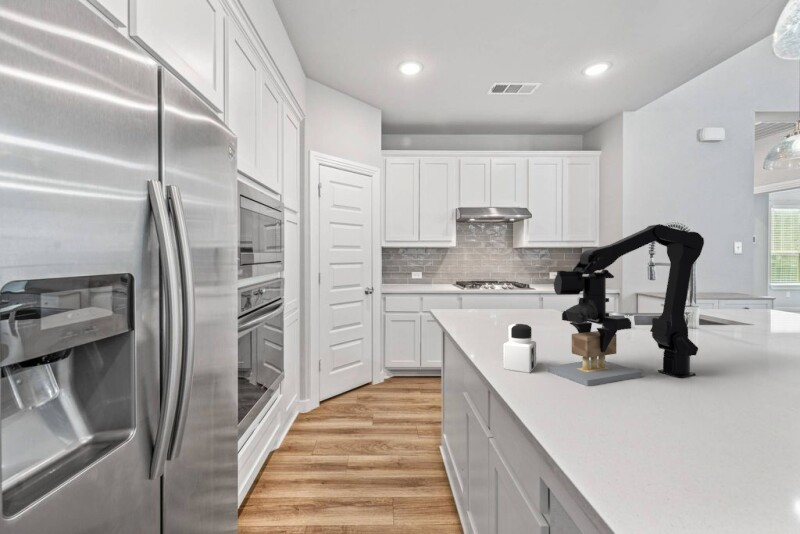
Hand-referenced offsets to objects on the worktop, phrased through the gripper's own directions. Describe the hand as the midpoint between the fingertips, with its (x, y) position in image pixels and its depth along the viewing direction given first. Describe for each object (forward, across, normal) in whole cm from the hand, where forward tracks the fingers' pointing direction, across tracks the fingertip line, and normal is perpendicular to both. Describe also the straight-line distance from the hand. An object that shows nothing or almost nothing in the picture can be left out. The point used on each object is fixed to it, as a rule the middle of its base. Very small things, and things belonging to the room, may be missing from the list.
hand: (594, 349), depth 109 cm
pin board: (+7, 0, 0) cm, 7 cm away
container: (+7, -13, -15) cm, 21 cm away
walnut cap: (+1, 0, 0) cm, 1 cm away
